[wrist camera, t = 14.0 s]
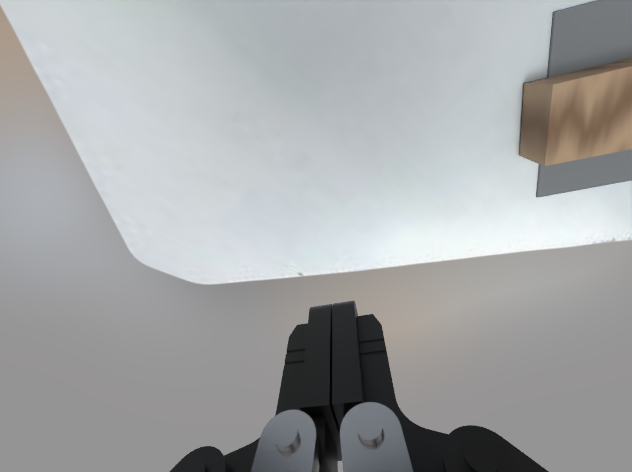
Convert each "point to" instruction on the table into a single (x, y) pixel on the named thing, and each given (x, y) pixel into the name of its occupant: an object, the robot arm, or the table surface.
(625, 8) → the mat
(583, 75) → the walnut block
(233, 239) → the table surface
